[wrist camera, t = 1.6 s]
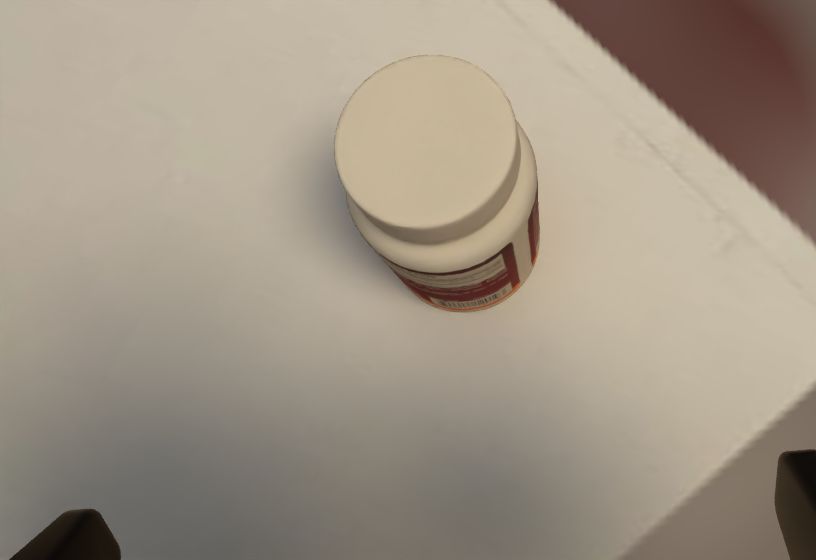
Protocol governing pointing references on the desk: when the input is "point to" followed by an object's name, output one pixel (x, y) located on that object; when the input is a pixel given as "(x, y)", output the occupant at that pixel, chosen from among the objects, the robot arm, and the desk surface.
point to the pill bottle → (441, 181)
